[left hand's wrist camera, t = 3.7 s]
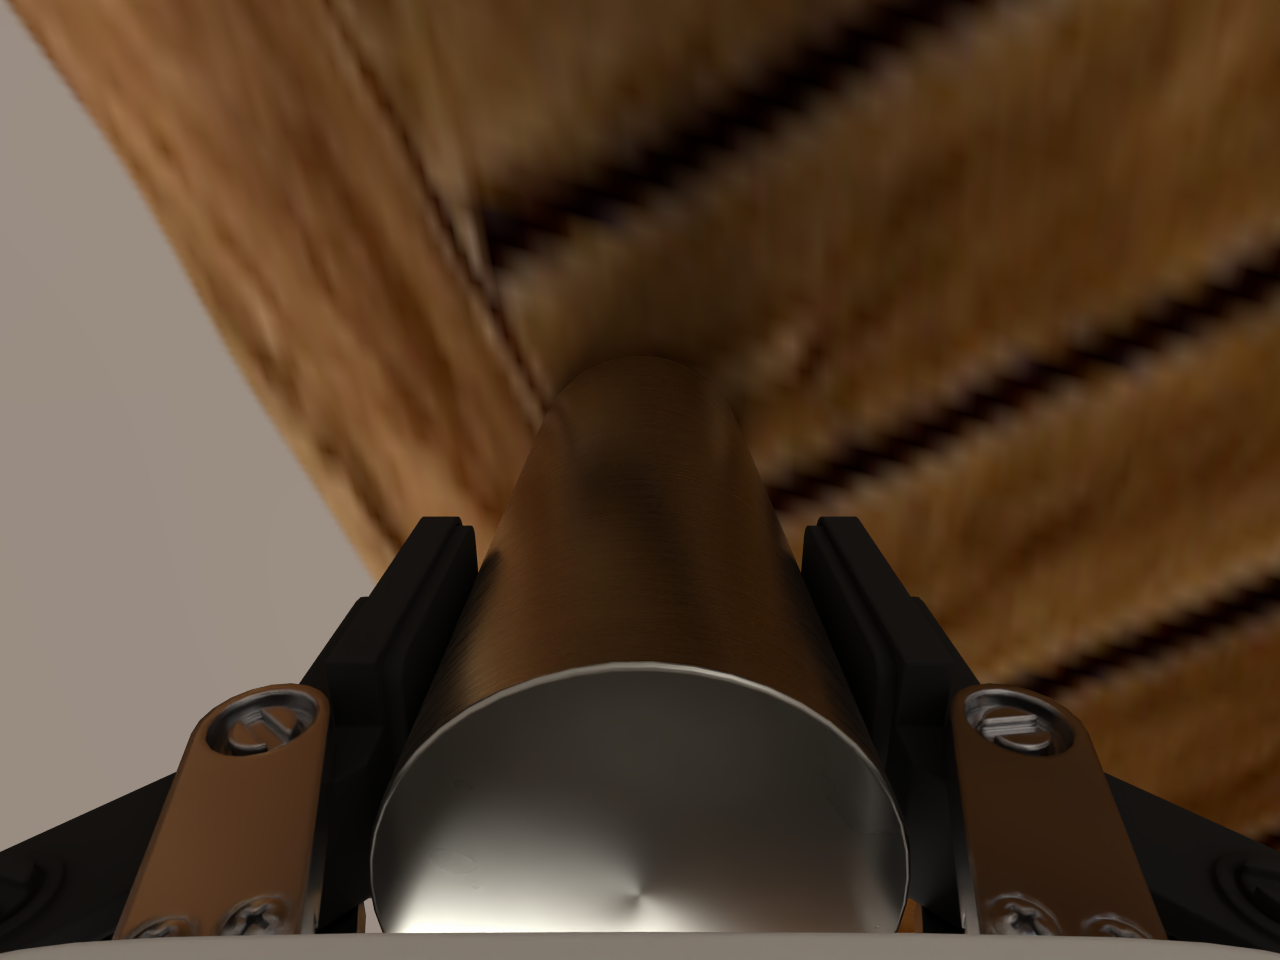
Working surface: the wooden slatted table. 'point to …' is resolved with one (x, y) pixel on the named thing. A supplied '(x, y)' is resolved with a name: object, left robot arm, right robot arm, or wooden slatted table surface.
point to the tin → (639, 703)
